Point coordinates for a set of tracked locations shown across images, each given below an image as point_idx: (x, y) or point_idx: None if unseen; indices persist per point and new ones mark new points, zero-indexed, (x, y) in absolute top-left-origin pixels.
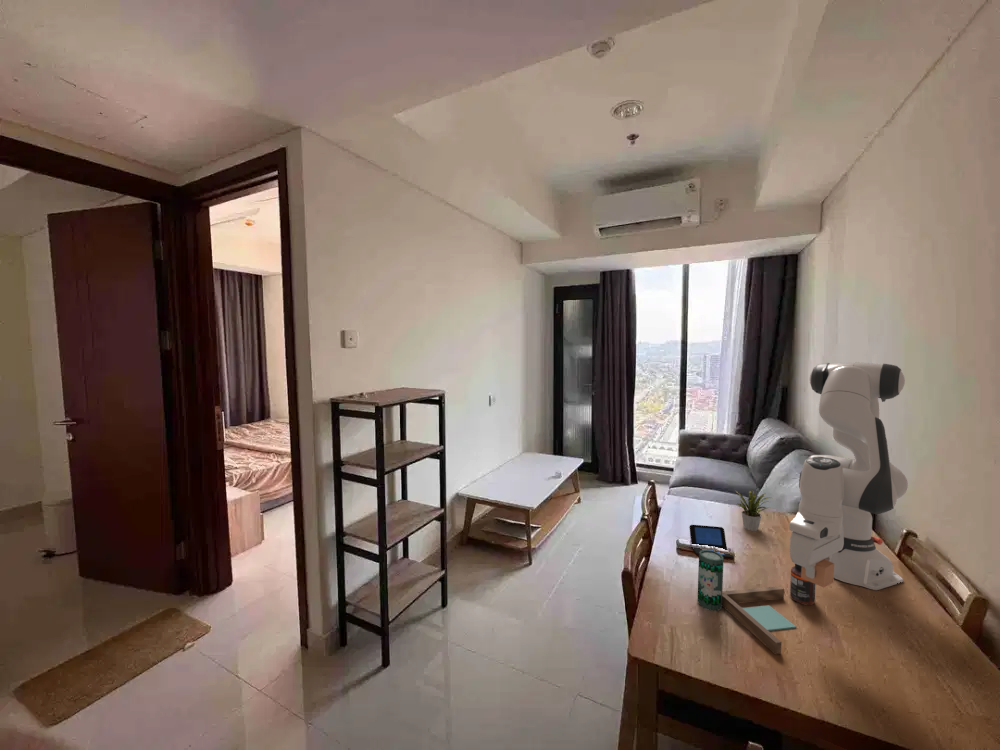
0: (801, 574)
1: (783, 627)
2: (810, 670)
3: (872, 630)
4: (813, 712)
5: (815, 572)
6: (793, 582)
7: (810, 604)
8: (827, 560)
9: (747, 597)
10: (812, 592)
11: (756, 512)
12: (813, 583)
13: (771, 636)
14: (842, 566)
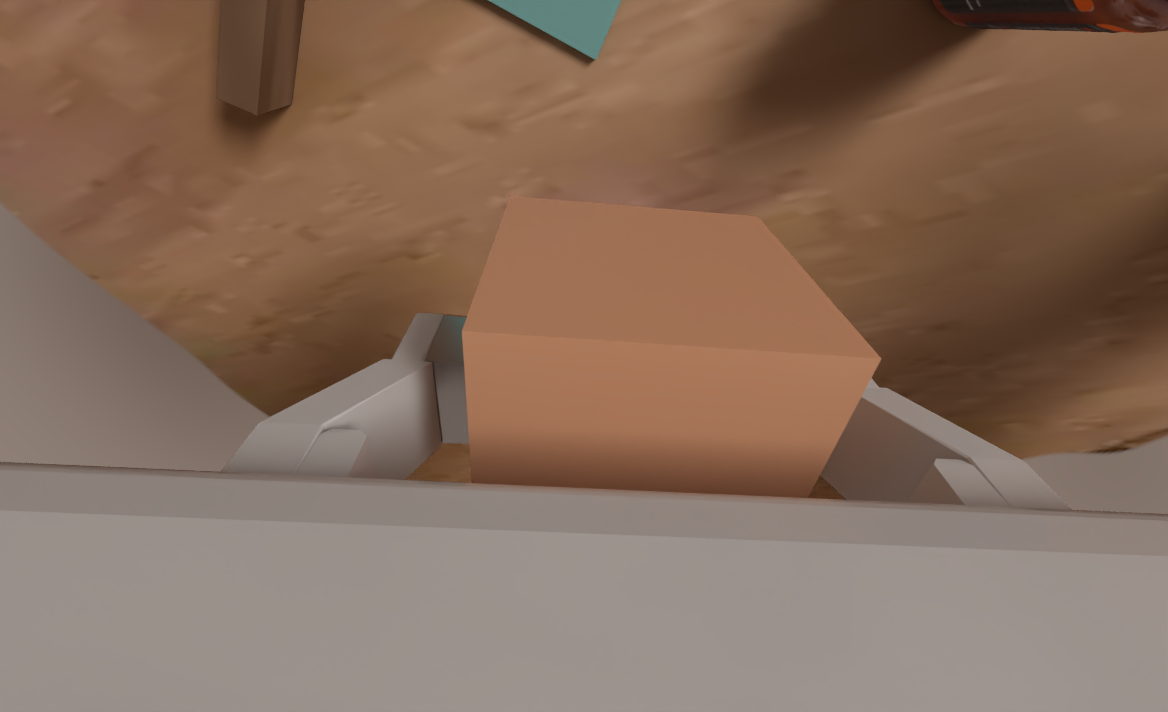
0: (505, 214)
1: (517, 10)
2: (330, 231)
3: (870, 294)
4: (138, 309)
5: (457, 433)
6: None
7: (943, 15)
8: (863, 493)
9: None
10: (1012, 24)
11: None
12: (1080, 28)
13: (237, 51)
14: None
